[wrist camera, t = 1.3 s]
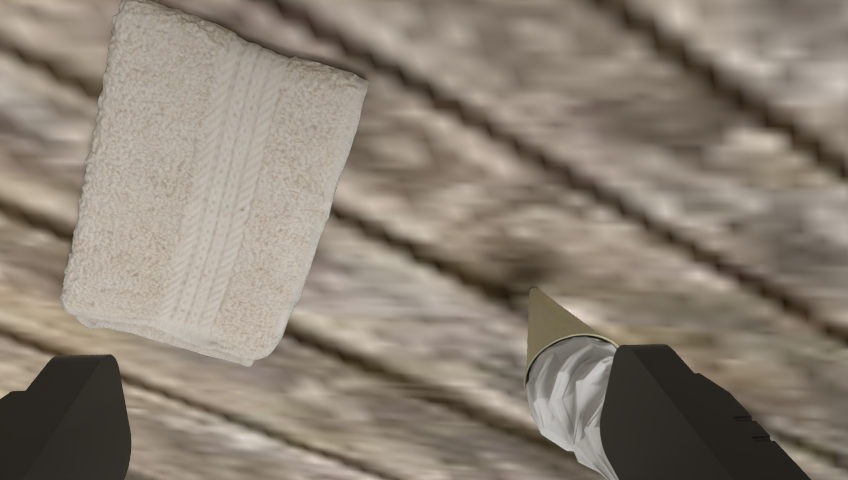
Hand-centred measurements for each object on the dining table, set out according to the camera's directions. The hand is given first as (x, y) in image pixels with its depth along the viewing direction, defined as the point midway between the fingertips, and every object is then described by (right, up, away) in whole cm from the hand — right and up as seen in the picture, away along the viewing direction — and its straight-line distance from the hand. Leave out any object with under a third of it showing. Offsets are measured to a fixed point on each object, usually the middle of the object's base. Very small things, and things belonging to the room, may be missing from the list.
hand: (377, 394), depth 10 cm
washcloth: (-11, +5, +22) cm, 25 cm away
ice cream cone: (+7, 0, +26) cm, 27 cm away
